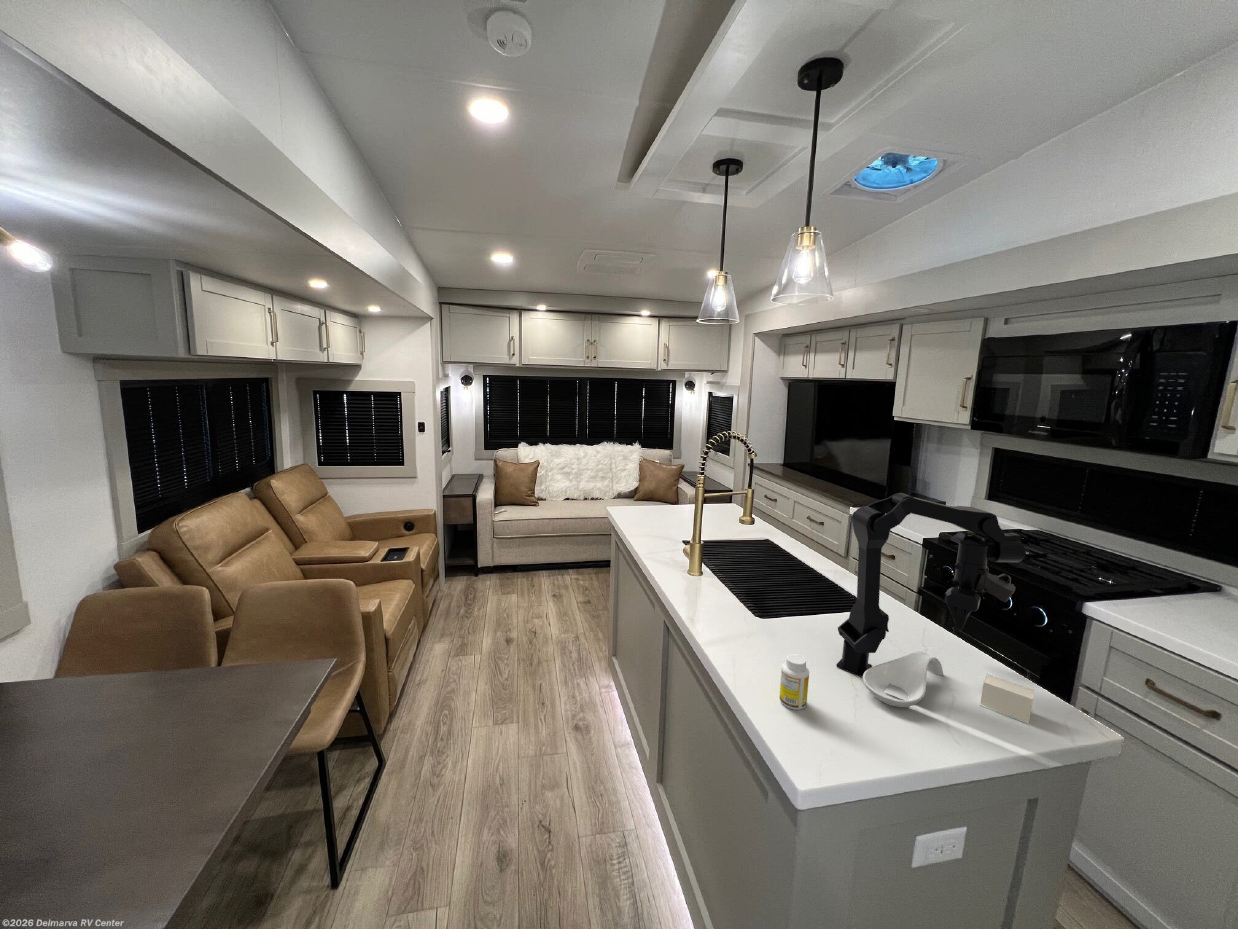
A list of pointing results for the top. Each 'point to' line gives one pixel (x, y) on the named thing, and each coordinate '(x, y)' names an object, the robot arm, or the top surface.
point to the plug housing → (1007, 697)
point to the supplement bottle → (794, 682)
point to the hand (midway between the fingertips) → (962, 622)
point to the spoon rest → (902, 677)
